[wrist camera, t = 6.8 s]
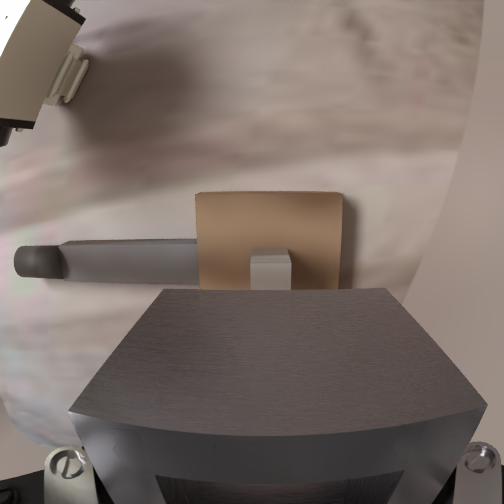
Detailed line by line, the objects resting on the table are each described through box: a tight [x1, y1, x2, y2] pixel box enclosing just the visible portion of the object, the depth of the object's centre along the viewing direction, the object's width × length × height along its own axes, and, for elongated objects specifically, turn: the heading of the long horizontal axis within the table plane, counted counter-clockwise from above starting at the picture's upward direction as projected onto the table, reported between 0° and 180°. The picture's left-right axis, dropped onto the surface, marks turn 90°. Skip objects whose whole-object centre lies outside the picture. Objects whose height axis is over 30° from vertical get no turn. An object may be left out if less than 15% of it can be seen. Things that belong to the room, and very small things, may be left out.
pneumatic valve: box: [0, 0, 89, 147], centre depth 15 cm, size 6×12×12 cm, turn 152°
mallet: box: [14, 191, 343, 290], centre depth 22 cm, size 10×27×6 cm, turn 91°
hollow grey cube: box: [68, 288, 488, 504], centre depth 8 cm, size 7×7×6 cm
